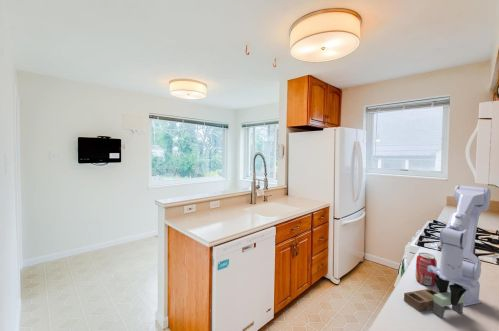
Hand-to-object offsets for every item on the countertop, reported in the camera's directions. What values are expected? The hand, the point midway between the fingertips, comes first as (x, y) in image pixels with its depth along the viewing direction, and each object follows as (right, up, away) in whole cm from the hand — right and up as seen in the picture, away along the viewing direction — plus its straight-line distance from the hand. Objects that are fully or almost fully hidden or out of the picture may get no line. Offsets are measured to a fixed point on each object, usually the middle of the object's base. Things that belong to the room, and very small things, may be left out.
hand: (448, 301), depth 82 cm
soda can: (+7, -4, +20) cm, 21 cm away
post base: (-4, -4, +6) cm, 8 cm away
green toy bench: (0, -4, 0) cm, 4 cm away
